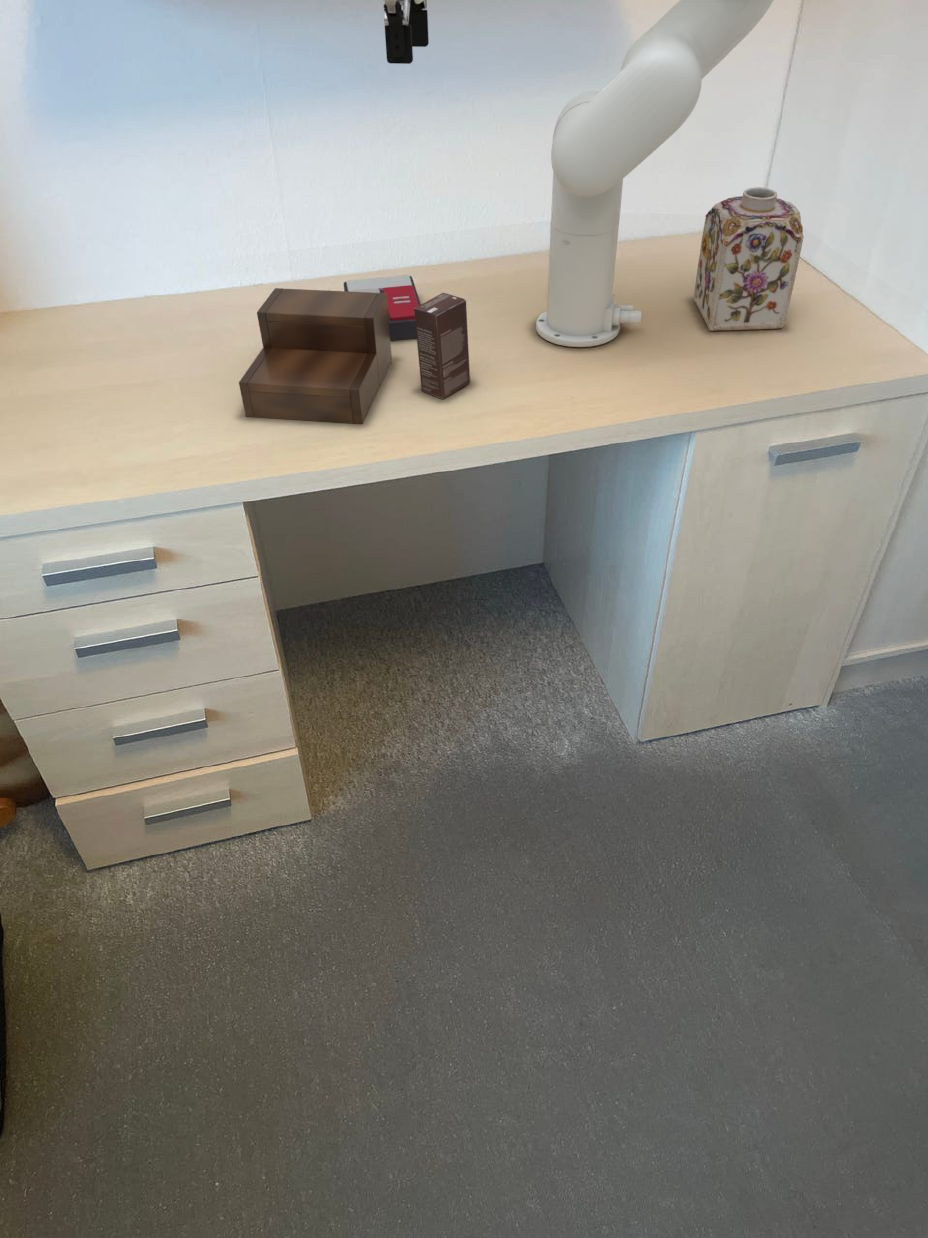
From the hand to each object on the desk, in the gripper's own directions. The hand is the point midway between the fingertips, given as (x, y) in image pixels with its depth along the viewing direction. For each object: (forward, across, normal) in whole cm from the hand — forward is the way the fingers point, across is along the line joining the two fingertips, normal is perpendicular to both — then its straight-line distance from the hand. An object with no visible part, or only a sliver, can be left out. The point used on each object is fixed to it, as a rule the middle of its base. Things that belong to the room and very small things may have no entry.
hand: (408, 53), depth 116 cm
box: (+36, -19, -7) cm, 42 cm away
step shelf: (+36, -20, +10) cm, 43 cm away
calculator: (+36, +1, +6) cm, 37 cm away
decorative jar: (+36, +9, -48) cm, 61 cm away
